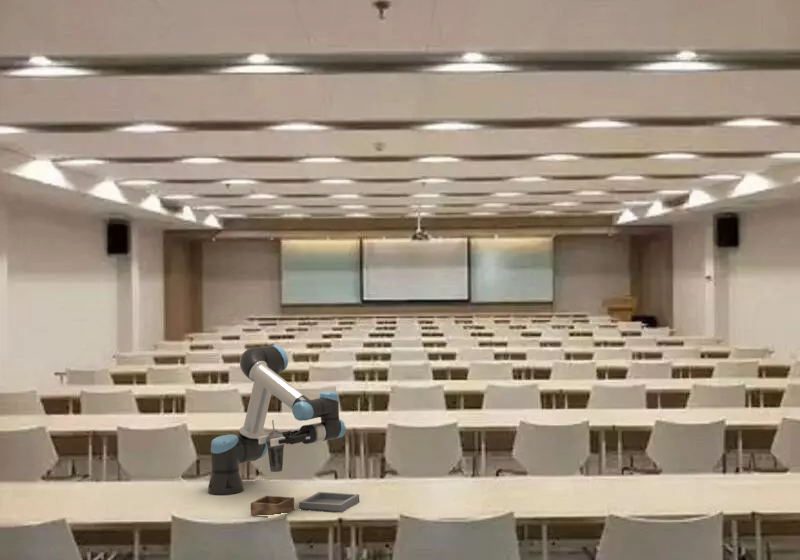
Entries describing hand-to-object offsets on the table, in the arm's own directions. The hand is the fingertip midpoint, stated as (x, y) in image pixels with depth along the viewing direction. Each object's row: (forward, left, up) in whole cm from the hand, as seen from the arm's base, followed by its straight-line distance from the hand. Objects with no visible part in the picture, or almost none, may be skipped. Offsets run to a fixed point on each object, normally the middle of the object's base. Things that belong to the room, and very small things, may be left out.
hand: (265, 441), depth 379 cm
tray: (+18, +20, -28) cm, 39 cm away
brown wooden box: (+1, +4, -28) cm, 29 cm away
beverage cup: (+2, +4, -12) cm, 13 cm away
